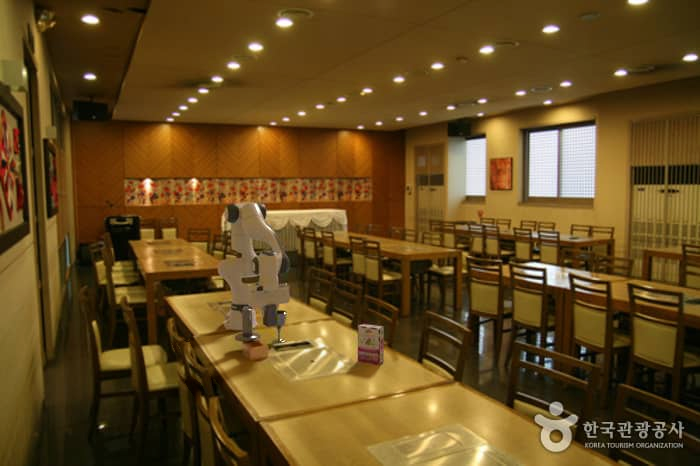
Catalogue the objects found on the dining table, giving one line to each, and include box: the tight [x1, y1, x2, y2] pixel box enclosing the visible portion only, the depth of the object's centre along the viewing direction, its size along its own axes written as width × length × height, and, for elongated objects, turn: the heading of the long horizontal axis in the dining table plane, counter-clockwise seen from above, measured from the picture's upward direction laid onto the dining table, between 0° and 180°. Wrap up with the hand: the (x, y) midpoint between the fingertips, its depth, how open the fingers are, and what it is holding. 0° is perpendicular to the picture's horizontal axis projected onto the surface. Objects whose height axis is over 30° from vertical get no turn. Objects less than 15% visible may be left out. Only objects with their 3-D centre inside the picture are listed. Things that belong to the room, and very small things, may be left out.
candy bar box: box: [357, 323, 385, 365], centre depth 242 cm, size 11×5×16 cm, turn 62°
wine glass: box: [271, 309, 288, 344], centre depth 272 cm, size 8×8×15 cm
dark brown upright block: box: [262, 304, 276, 328], centre depth 251 cm, size 6×4×10 cm, turn 32°
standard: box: [234, 308, 269, 361], centre depth 253 cm, size 21×12×20 cm, turn 31°
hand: (269, 314), depth 251 cm, fingers closed on dark brown upright block, 4 cm apart
